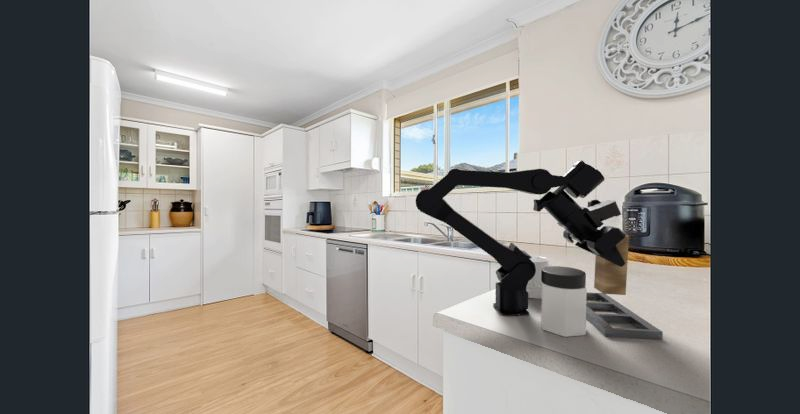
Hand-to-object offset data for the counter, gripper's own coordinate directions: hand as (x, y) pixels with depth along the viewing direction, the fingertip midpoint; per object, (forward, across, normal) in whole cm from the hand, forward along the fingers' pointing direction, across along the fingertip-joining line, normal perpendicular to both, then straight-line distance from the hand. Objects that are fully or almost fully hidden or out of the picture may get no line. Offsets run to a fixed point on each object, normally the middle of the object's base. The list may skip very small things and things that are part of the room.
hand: (617, 262), depth 71 cm
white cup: (-1, +13, +19) cm, 23 cm away
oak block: (+4, 0, +6) cm, 7 cm away
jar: (-1, -9, +19) cm, 21 cm away
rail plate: (+7, 0, +10) cm, 12 cm away
